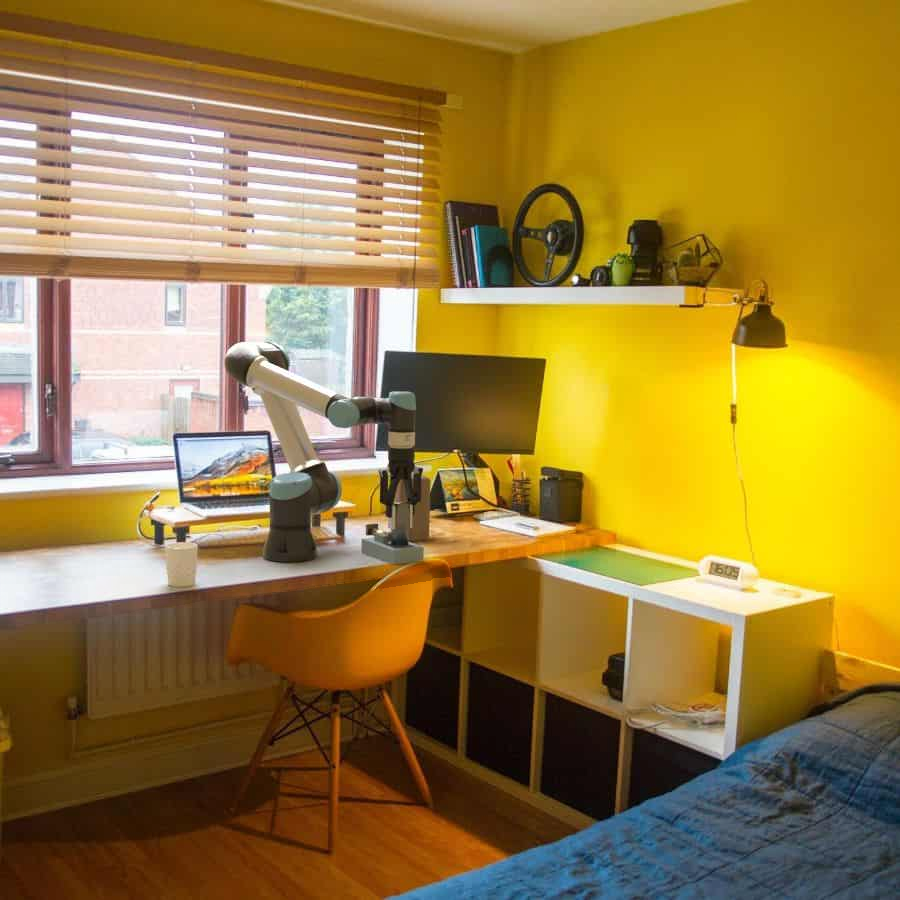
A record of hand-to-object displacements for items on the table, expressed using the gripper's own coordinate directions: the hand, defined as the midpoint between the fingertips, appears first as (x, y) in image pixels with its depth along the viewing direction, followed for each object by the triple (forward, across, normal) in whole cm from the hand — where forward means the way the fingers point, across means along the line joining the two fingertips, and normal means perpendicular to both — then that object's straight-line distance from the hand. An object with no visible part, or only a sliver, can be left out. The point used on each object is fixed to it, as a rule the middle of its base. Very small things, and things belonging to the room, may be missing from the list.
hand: (400, 527), depth 312 cm
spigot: (+5, 0, 0) cm, 5 cm away
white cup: (+9, -64, +1) cm, 65 cm away
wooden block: (+9, +18, +23) cm, 31 cm away
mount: (+9, 0, +4) cm, 10 cm away
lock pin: (+5, 0, +12) cm, 13 cm away
